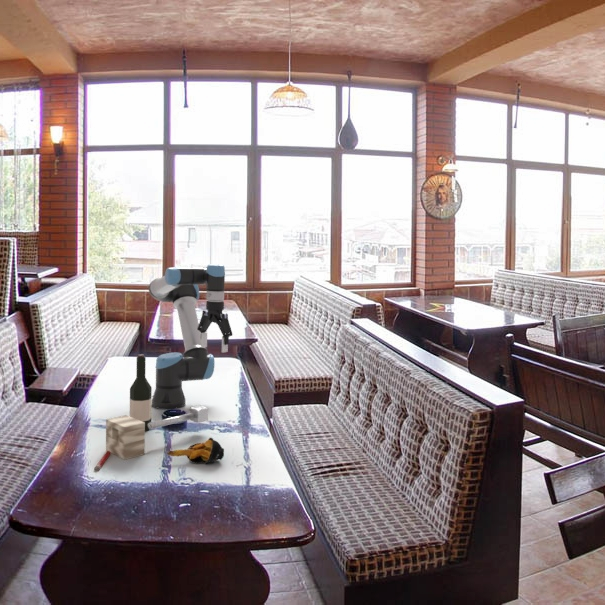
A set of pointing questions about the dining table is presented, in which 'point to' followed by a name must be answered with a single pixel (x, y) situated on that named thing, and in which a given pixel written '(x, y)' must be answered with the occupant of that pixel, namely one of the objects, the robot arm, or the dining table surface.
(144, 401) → the wine bottle
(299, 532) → the dining table surface
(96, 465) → the flare
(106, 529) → the dining table surface
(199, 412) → the pull pin
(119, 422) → the eye block
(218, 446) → the fried shrimp in bowl
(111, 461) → the dining table surface
